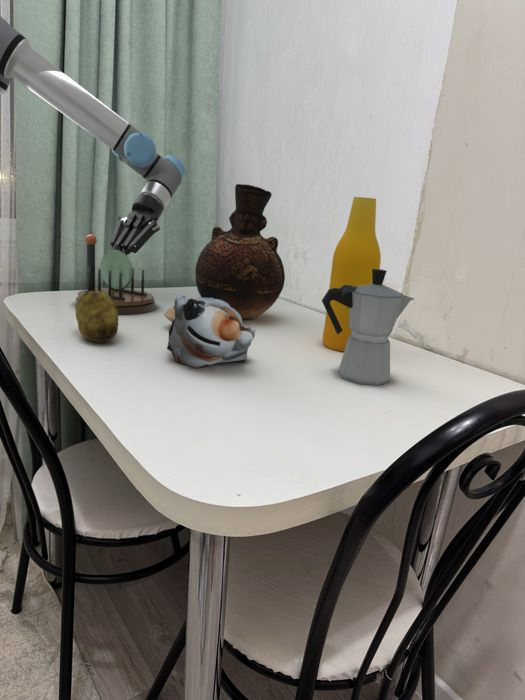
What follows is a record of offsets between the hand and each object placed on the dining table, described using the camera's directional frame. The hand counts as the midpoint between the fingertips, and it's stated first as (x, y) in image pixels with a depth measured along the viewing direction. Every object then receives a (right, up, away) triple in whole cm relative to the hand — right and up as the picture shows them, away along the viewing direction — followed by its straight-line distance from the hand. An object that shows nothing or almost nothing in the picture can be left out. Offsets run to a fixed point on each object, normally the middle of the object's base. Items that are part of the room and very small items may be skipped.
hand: (108, 270), depth 126 cm
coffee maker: (+54, -24, -41) cm, 73 cm away
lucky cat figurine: (+30, -22, -40) cm, 55 cm away
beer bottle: (+55, -19, -24) cm, 63 cm away
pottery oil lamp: (+23, -16, -23) cm, 36 cm away
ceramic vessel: (+32, -12, -6) cm, 35 cm away
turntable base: (+4, -10, -6) cm, 12 cm away
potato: (+8, -18, -32) cm, 37 cm away
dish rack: (+4, -8, -7) cm, 11 cm away
